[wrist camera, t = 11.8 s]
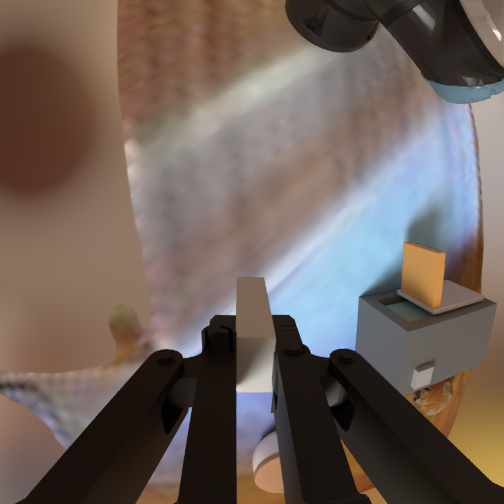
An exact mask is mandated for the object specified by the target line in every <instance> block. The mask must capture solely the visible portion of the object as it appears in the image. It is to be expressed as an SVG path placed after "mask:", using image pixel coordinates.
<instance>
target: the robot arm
mask: <svg viewBox="0 0 504 504" xmlns="http://www.w3.org/2000/svg"><path fill="white" fill-rule="evenodd" d="M285 8H286V13H287V16H288V19H289V21H290V22H291V24H292V25H293V27H294V28H295V29H296V30H297V32H298V33H299V34H301V35H302V36H303V37H304V38H305V39H307V40H308V41H309V42H311V43H313V44H314V45H316V46H318V47H321V48H323V49H326V50H329V51H333V52H352V51H355V50H358V49H360V48H361V47H363V46H364V45H365V44H367V43H368V42H369V41H370V40H371V39H372V38H373V36H374V34H375V32H376V29H377V27H378V24H379V22H381V23H382V24H383V26H384V27H385V28H386V29H387V30H388V31H389V32H390V34H391V35H392V36H393V37H394V38H395V39H396V41H397V42H398V43H399V44H400V45H401V47H402V48H403V49H404V50H405V51H406V53H407V54H408V55H409V56H410V58H411V59H412V60H413V62H414V63H415V64H416V66H417V67H418V68H419V70H420V71H421V75H422V76H423V78H424V79H425V80H426V81H427V82H429V83H430V85H431V86H432V87H433V89H434V90H435V91H436V93H437V94H438V95H439V96H440V97H441V98H443V99H444V100H446V101H448V102H451V103H457V104H466V103H474V102H478V101H482V100H486V99H489V98H490V97H491V95H497V94H499V93H501V92H503V91H504V0H286V3H285ZM201 333H202V353H201V354H199V355H197V356H194V357H189V358H183V356H182V354H181V353H179V352H178V351H175V350H170V349H163V350H159V351H156V352H154V353H153V354H151V355H150V356H149V357H148V358H147V360H146V361H145V362H144V363H143V364H142V365H141V366H140V367H139V369H138V370H137V371H136V372H135V373H134V374H133V375H132V377H131V378H130V379H129V380H128V381H127V382H126V383H125V384H124V386H123V387H122V388H121V389H120V390H119V391H118V392H117V394H116V395H115V396H114V397H113V398H112V399H111V400H110V401H109V403H108V404H107V405H106V406H105V407H104V408H103V409H102V411H101V412H100V413H99V414H98V415H97V416H96V417H95V419H94V420H93V421H92V422H91V423H90V424H89V425H88V427H87V428H86V429H85V430H84V431H83V432H82V433H81V435H80V436H79V437H78V438H77V439H76V440H75V441H74V443H73V444H72V445H71V446H70V447H69V448H68V449H67V451H66V452H65V453H64V454H63V456H61V458H60V459H59V460H58V461H57V462H56V463H55V464H54V466H53V467H52V468H51V469H50V470H49V471H48V473H47V474H46V475H45V476H44V477H43V478H42V479H41V481H40V482H39V483H38V484H37V485H36V486H35V488H34V489H33V490H32V491H31V492H30V493H29V495H28V496H27V497H26V498H25V499H23V500H21V501H19V502H17V503H16V504H135V503H136V502H137V500H138V498H139V496H140V495H141V493H142V491H143V490H144V488H145V486H146V485H147V483H148V481H149V479H150V478H151V476H152V474H153V472H154V471H155V469H156V467H157V466H158V464H159V462H160V460H161V459H162V457H163V455H164V453H165V452H166V450H167V448H168V446H169V445H170V443H171V441H172V439H173V438H174V436H175V434H176V432H177V431H178V429H179V427H180V425H181V423H182V422H183V420H184V418H185V416H186V415H187V413H188V410H189V407H192V412H191V418H190V424H189V430H188V436H187V443H186V449H185V455H184V462H183V469H182V475H181V482H180V489H179V496H178V500H177V502H175V503H174V504H237V470H236V392H272V386H273V397H272V408H271V413H274V418H275V425H276V433H277V441H278V449H279V457H280V464H281V472H282V480H283V488H284V496H285V503H286V504H372V503H371V501H370V499H369V497H367V495H366V494H360V493H359V492H358V491H357V488H356V485H355V482H354V479H353V476H352V473H351V470H350V467H349V464H348V461H347V458H346V455H345V452H344V449H343V446H342V443H341V440H342V441H343V443H344V444H345V445H346V447H347V448H348V450H349V451H350V452H351V454H352V455H353V457H354V458H355V459H356V461H357V462H358V464H359V465H360V466H361V468H362V469H363V471H364V472H365V473H366V475H367V476H368V478H369V479H370V480H371V482H372V483H373V484H374V486H375V487H376V489H377V490H378V491H379V493H380V494H381V495H382V497H383V498H384V499H385V501H386V502H387V503H388V504H504V487H502V486H499V485H497V484H495V483H493V482H492V481H490V480H489V479H488V478H487V477H486V476H485V475H484V474H483V473H482V472H481V471H480V470H479V469H478V468H477V467H476V466H475V465H474V464H473V463H472V462H471V461H470V460H469V459H468V458H467V457H466V456H465V455H464V454H463V453H462V452H461V451H460V450H458V449H457V448H456V447H455V446H454V445H453V444H452V443H451V442H450V441H449V440H448V439H447V438H446V437H445V436H444V435H443V434H442V433H441V432H440V431H439V430H438V429H437V428H436V427H435V426H434V425H433V424H432V423H431V422H430V421H429V420H428V419H427V418H425V417H424V416H423V415H422V414H421V413H420V412H419V411H418V410H417V409H416V408H415V407H414V406H413V405H412V404H411V403H410V402H409V401H408V400H407V399H406V398H405V397H404V396H403V395H402V394H401V393H400V392H399V391H398V390H397V389H395V388H394V387H393V386H392V385H391V384H390V383H389V382H388V381H387V380H386V379H385V378H384V377H383V376H382V375H381V374H380V373H379V372H378V371H377V370H376V369H375V368H374V367H373V366H372V365H371V364H370V363H369V362H368V361H367V360H365V359H364V358H363V357H362V356H361V355H360V354H359V353H357V352H356V351H353V350H350V349H337V350H335V351H333V352H332V353H331V354H330V357H329V358H326V357H320V356H315V355H313V354H311V352H310V350H309V348H308V347H307V346H306V345H304V344H302V341H301V338H300V335H299V332H298V329H297V326H296V323H295V320H294V319H293V318H292V317H291V316H289V315H271V310H270V305H269V300H268V295H267V290H266V285H265V281H264V277H237V300H236V315H215V316H214V317H213V318H212V319H211V320H210V325H209V326H207V327H205V328H203V330H202V332H201ZM340 438H341V440H340Z"/></svg>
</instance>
